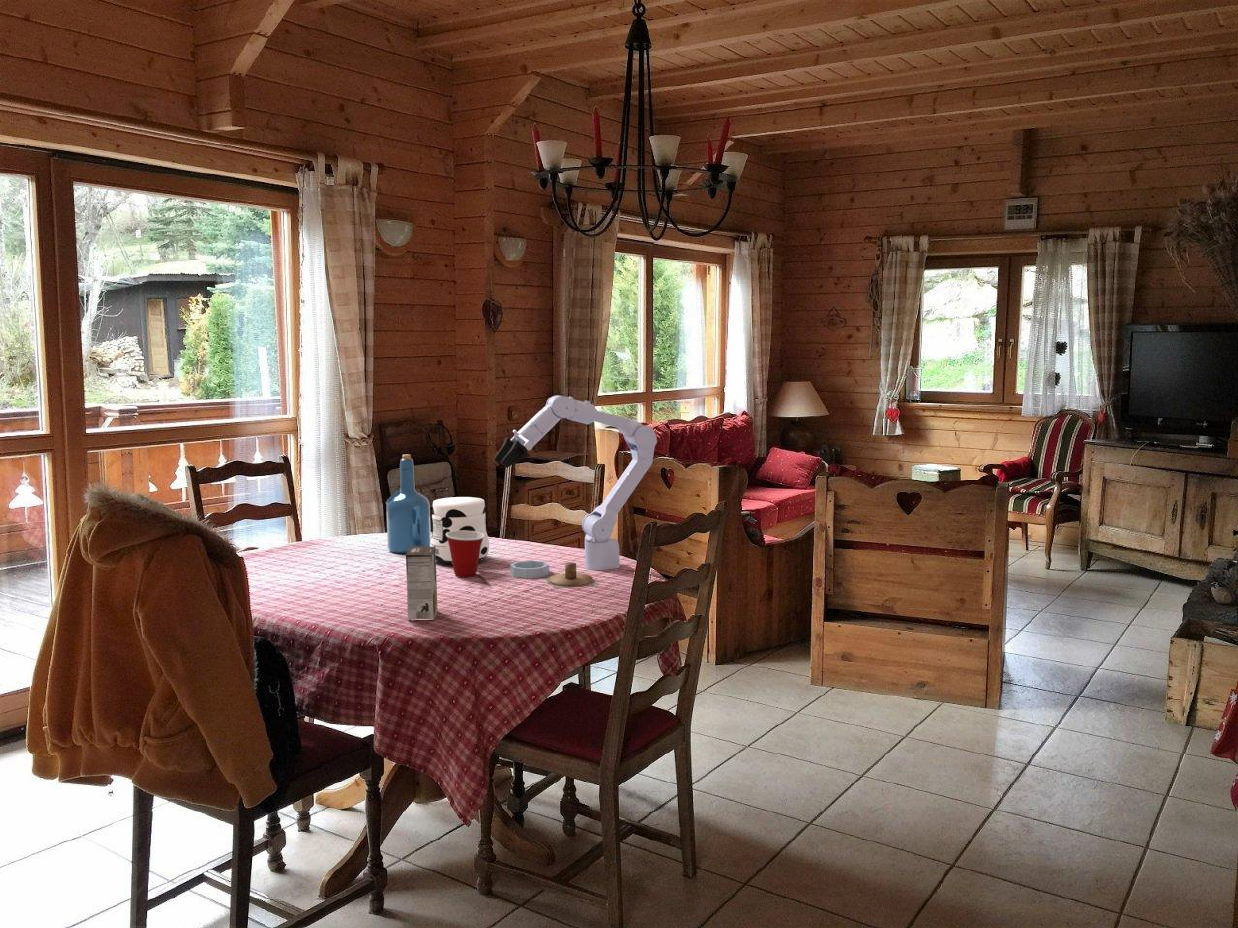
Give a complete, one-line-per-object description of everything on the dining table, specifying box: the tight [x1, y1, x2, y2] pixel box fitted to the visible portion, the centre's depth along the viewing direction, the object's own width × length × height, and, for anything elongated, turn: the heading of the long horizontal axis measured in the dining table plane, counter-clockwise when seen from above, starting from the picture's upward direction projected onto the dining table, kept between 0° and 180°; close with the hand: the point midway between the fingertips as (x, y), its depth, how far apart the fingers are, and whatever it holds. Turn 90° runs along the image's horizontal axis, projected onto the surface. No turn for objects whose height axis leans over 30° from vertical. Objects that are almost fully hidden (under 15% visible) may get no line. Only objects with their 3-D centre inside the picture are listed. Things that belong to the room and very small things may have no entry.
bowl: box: [509, 559, 550, 579], centre depth 282 cm, size 10×10×4 cm
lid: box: [548, 562, 594, 588], centre depth 273 cm, size 12×12×5 cm
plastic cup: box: [446, 530, 485, 578], centre depth 284 cm, size 11×11×12 cm
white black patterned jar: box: [430, 496, 490, 565], centre depth 302 cm, size 17×17×18 cm
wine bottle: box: [385, 453, 432, 555], centre depth 317 cm, size 14×13×30 cm
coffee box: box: [405, 546, 439, 620], centre depth 244 cm, size 9×6×16 cm
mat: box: [542, 577, 600, 589], centre depth 274 cm, size 12×12×1 cm
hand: (499, 463), depth 276 cm, fingers open, 7 cm apart
